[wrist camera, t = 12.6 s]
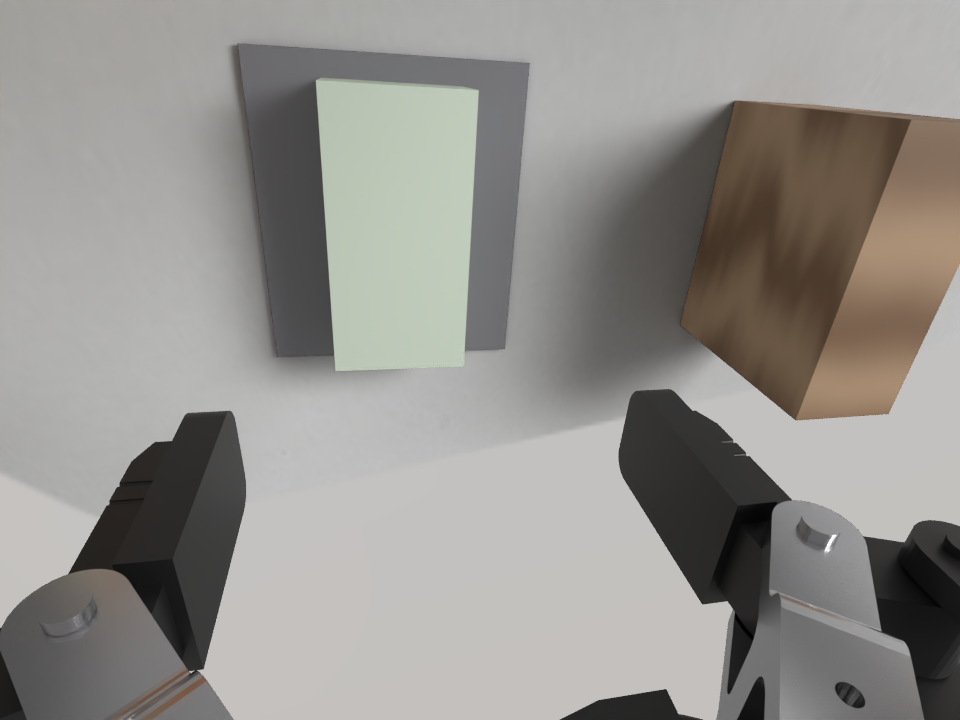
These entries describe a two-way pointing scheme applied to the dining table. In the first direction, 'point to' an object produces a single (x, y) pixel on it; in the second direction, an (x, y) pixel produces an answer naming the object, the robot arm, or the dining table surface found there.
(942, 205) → the box
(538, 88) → the dining table surface
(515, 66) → the mat
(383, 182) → the pale green block
